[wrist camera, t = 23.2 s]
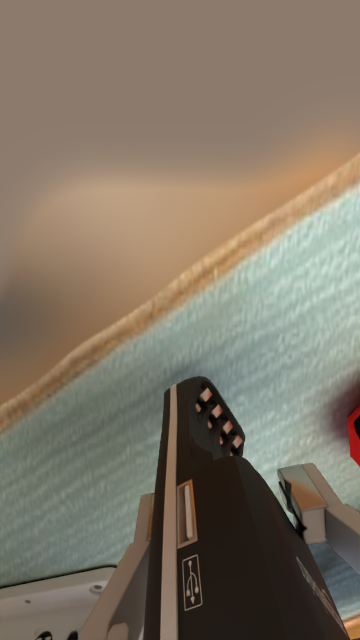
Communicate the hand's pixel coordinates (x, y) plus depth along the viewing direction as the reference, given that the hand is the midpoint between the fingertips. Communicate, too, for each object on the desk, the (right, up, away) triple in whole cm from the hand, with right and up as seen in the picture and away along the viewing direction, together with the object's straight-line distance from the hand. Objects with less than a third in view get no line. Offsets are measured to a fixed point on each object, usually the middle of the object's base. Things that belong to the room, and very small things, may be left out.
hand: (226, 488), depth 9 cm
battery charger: (0, +1, +5) cm, 5 cm away
